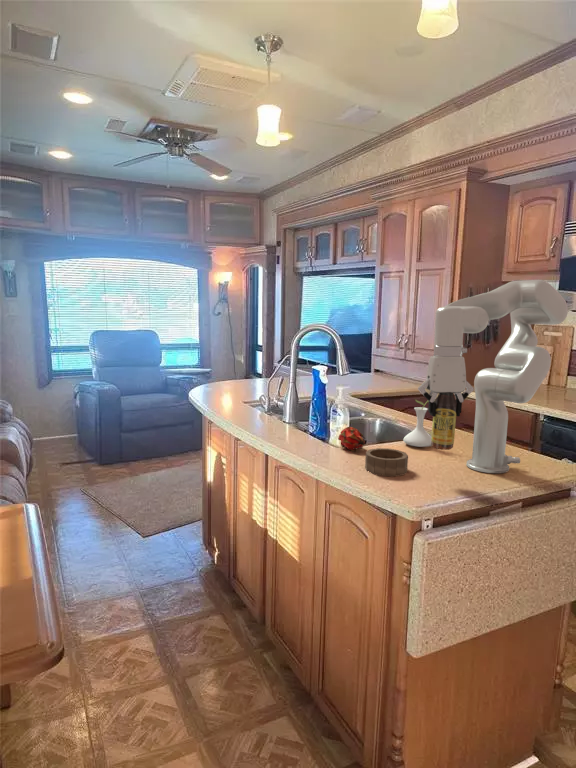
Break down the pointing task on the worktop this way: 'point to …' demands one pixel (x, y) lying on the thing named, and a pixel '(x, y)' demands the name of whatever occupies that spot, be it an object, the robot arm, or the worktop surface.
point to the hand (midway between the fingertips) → (444, 414)
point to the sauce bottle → (444, 422)
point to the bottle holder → (386, 462)
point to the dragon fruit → (351, 438)
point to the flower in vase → (419, 428)
